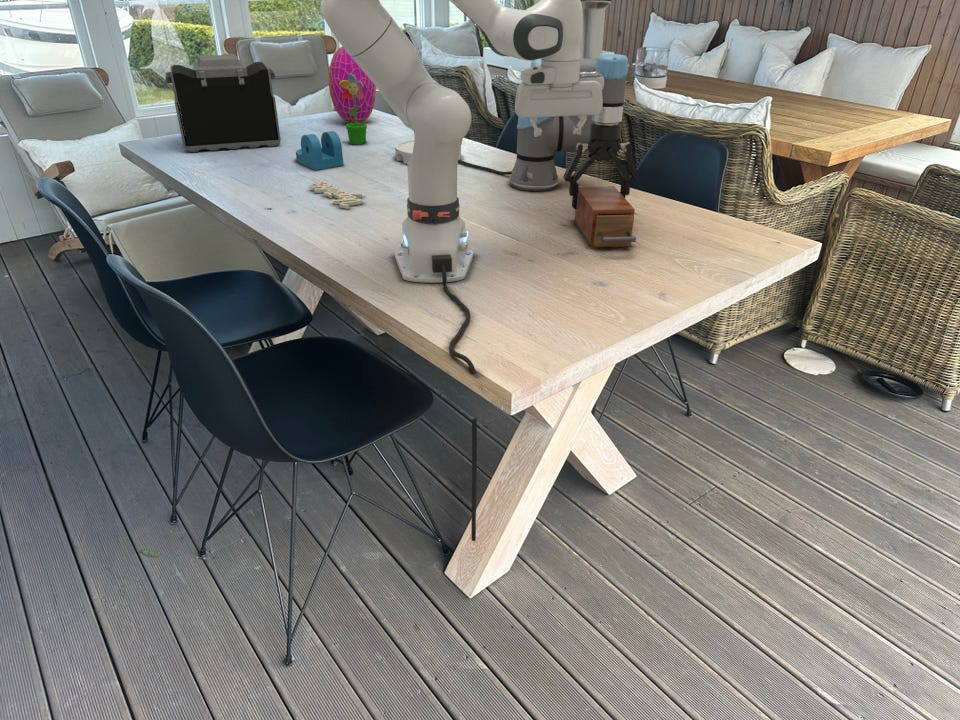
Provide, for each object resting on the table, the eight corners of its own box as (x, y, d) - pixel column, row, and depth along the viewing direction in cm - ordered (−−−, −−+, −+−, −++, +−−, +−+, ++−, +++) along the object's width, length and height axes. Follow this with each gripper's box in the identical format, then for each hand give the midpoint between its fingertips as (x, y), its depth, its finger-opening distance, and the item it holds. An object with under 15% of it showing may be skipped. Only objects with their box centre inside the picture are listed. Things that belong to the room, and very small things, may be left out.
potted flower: (342, 144, 260) (336, 73, 247) (351, 139, 266) (346, 70, 254) (365, 146, 257) (360, 74, 245) (374, 141, 264) (369, 71, 251)
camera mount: (343, 165, 234) (340, 133, 228) (315, 170, 228) (311, 137, 223) (318, 154, 246) (315, 124, 240) (291, 159, 240) (287, 128, 235)
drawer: (636, 253, 165) (640, 223, 161) (599, 254, 164) (602, 223, 160) (611, 221, 185) (615, 193, 181) (578, 221, 184) (581, 194, 180)
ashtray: (454, 167, 232) (454, 155, 230) (388, 164, 235) (387, 152, 233) (466, 151, 252) (466, 140, 250) (404, 148, 255) (404, 137, 253)
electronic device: (278, 133, 274) (267, 51, 259) (285, 146, 256) (274, 59, 241) (180, 140, 262) (162, 54, 247) (180, 153, 244) (161, 62, 229)
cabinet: (630, 246, 171) (634, 209, 166) (589, 247, 170) (593, 210, 166) (610, 220, 188) (614, 186, 183) (573, 221, 187) (576, 186, 182)
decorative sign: (374, 199, 198) (343, 206, 193) (375, 203, 198) (344, 209, 193) (332, 179, 216) (303, 184, 211) (332, 182, 216) (303, 187, 211)
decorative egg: (362, 116, 305) (357, 42, 290) (386, 123, 292) (382, 46, 277) (324, 121, 294) (316, 45, 279) (347, 129, 281) (340, 49, 266)
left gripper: (600, 69, 159) (596, 130, 166) (513, 72, 156) (513, 134, 164) (609, 73, 153) (603, 136, 160) (519, 76, 151) (517, 140, 158)
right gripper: (649, 119, 175) (638, 202, 186) (555, 119, 173) (549, 203, 184) (658, 125, 168) (646, 210, 179) (560, 126, 166) (555, 212, 177)
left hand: (557, 135), depth 162 cm, fingers open, 8 cm apart
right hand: (597, 207), depth 181 cm, fingers open, 12 cm apart
